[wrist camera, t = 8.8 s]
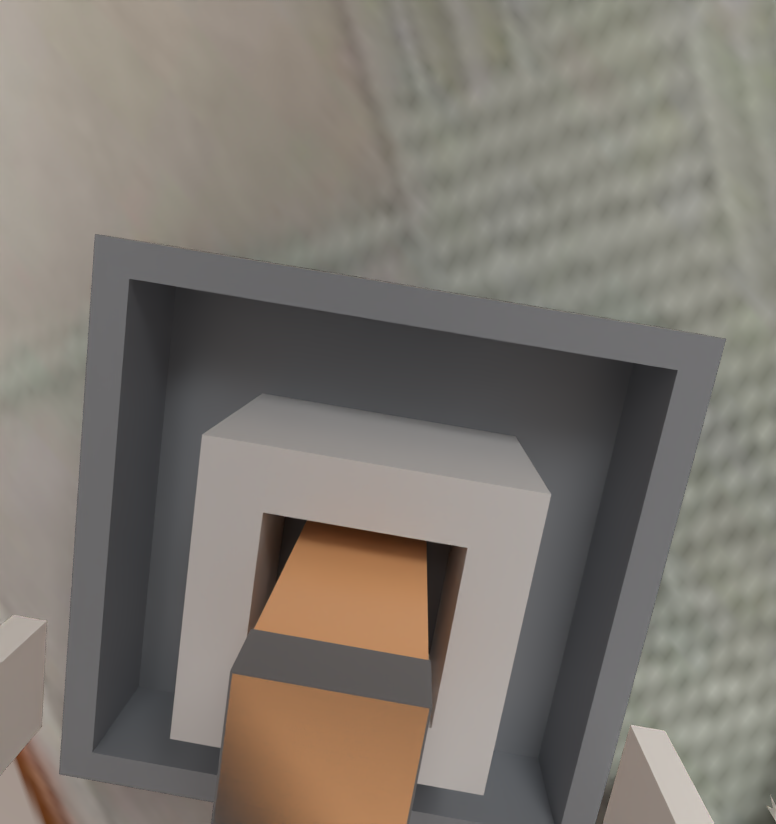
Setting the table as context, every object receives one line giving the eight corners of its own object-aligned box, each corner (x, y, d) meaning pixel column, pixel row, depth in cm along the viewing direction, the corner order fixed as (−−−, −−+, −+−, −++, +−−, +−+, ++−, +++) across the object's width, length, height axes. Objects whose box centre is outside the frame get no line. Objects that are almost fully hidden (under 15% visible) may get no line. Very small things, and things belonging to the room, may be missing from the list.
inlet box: (159, 244, 25) (39, 225, 17) (665, 328, 25) (779, 348, 17) (120, 691, 29) (8, 841, 21) (555, 769, 29) (605, 952, 21)
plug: (313, 503, 23) (230, 671, 13) (427, 523, 22) (432, 706, 13) (298, 608, 23) (209, 840, 14) (408, 627, 23) (398, 875, 14)
